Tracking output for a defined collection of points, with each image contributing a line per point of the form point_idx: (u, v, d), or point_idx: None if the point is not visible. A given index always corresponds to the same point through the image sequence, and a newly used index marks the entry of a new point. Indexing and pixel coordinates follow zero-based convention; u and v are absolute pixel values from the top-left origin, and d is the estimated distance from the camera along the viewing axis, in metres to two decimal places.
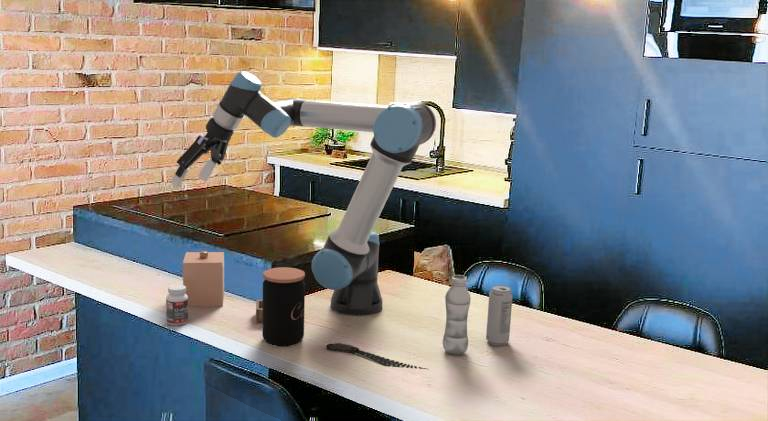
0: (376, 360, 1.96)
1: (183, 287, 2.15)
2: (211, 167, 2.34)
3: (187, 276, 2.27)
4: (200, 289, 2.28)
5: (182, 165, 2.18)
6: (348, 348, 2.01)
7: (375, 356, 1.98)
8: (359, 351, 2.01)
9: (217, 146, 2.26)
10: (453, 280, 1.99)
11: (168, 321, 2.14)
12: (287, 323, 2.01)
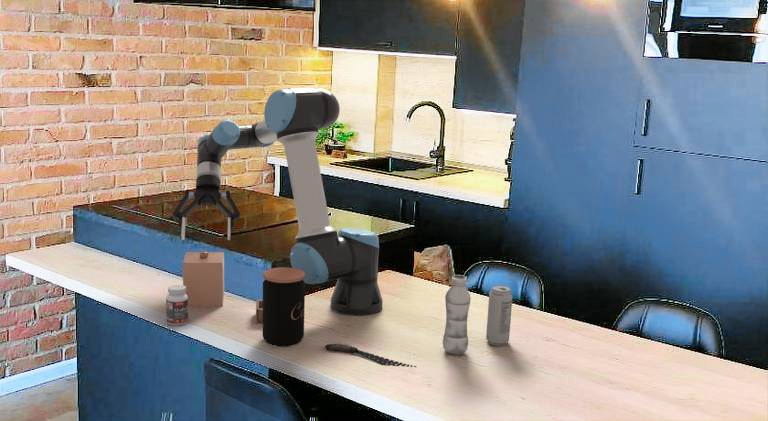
0: (376, 360, 1.96)
1: (183, 287, 2.15)
2: None
3: (187, 276, 2.27)
4: (200, 289, 2.28)
5: (173, 213, 2.44)
6: (347, 348, 2.01)
7: (374, 356, 1.98)
8: (358, 351, 2.01)
9: (211, 197, 2.48)
10: (453, 280, 1.99)
11: (168, 321, 2.14)
12: (287, 323, 2.01)
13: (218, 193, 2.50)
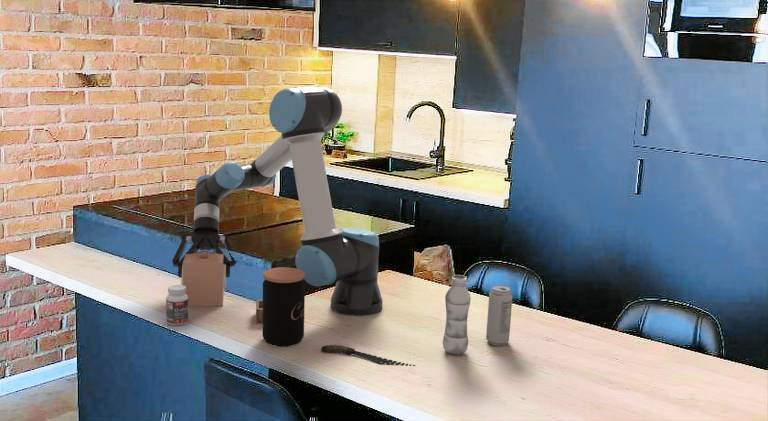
0: (374, 360, 1.96)
1: (183, 287, 2.15)
2: (223, 269, 2.34)
3: (187, 276, 2.27)
4: (200, 289, 2.28)
5: None
6: (344, 349, 2.00)
7: (372, 356, 1.98)
8: (355, 352, 2.00)
9: (209, 240, 2.38)
10: (453, 280, 1.99)
11: (168, 321, 2.14)
12: (287, 323, 2.01)
13: (216, 236, 2.39)
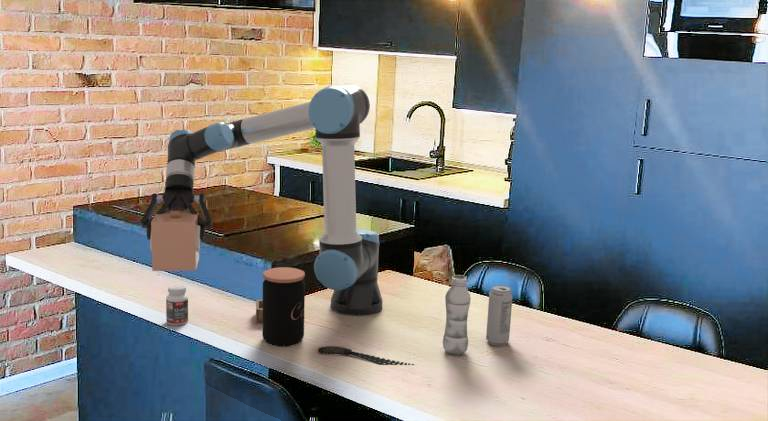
0: (372, 360, 1.96)
1: (183, 287, 2.15)
2: (197, 231, 2.12)
3: (156, 237, 2.06)
4: (170, 251, 2.07)
5: (141, 221, 2.12)
6: (342, 350, 1.99)
7: (370, 356, 1.98)
8: (353, 352, 2.00)
9: (182, 200, 2.16)
10: (453, 280, 1.99)
11: (168, 321, 2.14)
12: (287, 323, 2.01)
13: (190, 195, 2.18)
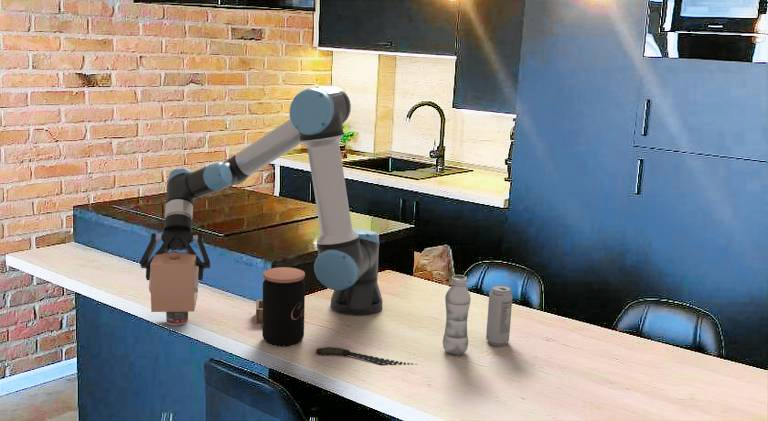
0: (371, 361, 1.96)
1: None
2: (195, 272, 2.15)
3: (155, 279, 2.08)
4: (169, 293, 2.09)
5: (140, 262, 2.14)
6: (340, 351, 1.99)
7: (369, 357, 1.98)
8: (351, 353, 1.99)
9: (181, 240, 2.19)
10: (453, 280, 1.99)
11: (168, 321, 2.14)
12: (287, 323, 2.01)
13: (189, 235, 2.20)
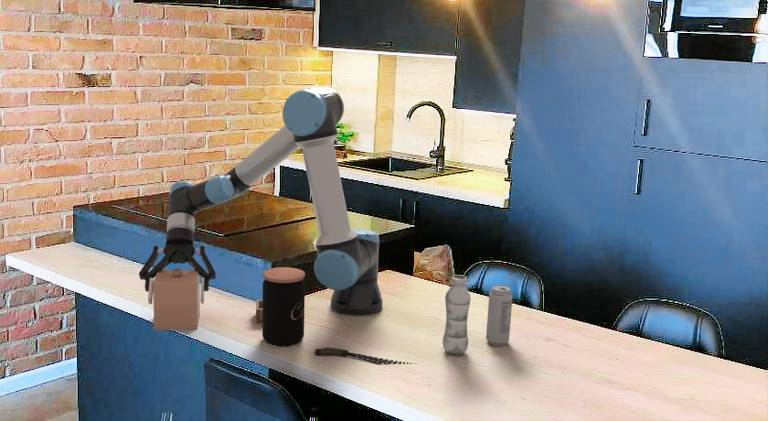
0: (371, 361, 1.96)
1: None
2: (201, 283, 2.16)
3: (157, 297, 2.09)
4: (172, 311, 2.10)
5: (139, 274, 2.15)
6: (339, 351, 1.98)
7: (368, 357, 1.98)
8: (350, 353, 1.99)
9: (183, 253, 2.19)
10: (453, 280, 1.99)
11: None
12: (287, 323, 2.01)
13: (191, 249, 2.21)
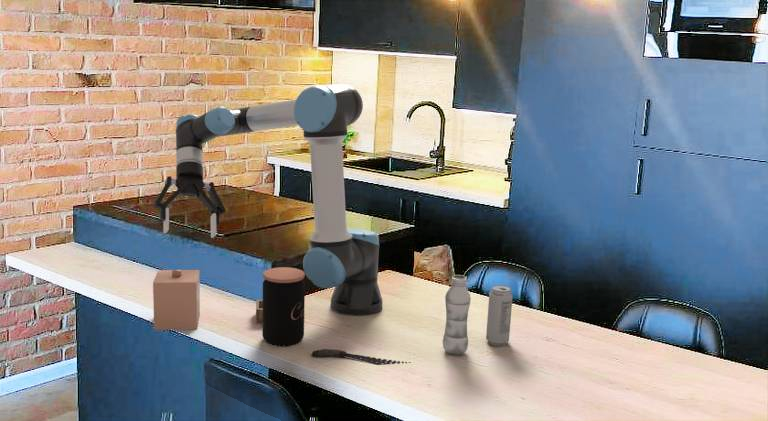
0: (369, 361, 1.96)
1: None
2: (213, 218, 2.29)
3: (157, 297, 2.09)
4: (172, 311, 2.10)
5: (155, 202, 2.22)
6: (337, 353, 1.98)
7: (366, 357, 1.98)
8: (348, 354, 1.98)
9: (196, 187, 2.29)
10: (453, 280, 1.99)
11: None
12: (287, 323, 2.01)
13: (202, 184, 2.31)
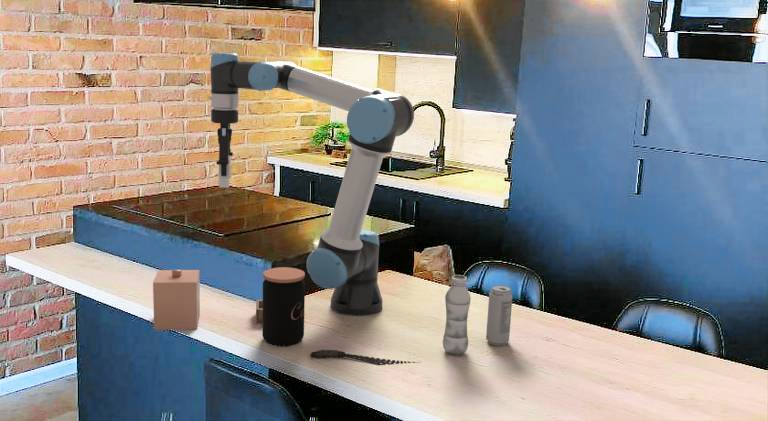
0: (368, 361, 1.96)
1: None
2: (228, 161, 2.35)
3: (157, 297, 2.09)
4: (172, 311, 2.10)
5: (226, 161, 2.19)
6: (335, 353, 1.97)
7: (365, 357, 1.97)
8: (346, 355, 1.98)
9: None
10: (453, 280, 1.99)
11: None
12: (287, 323, 2.01)
13: None
